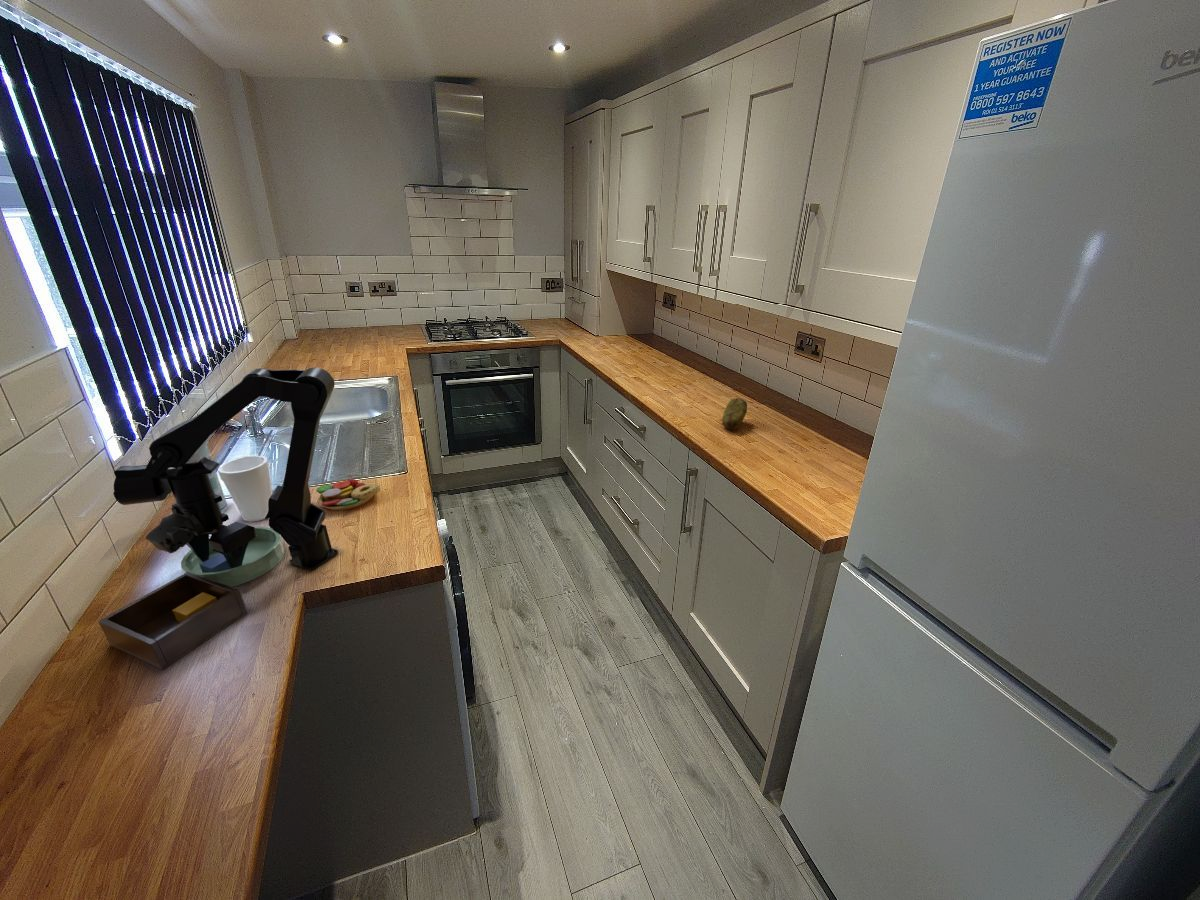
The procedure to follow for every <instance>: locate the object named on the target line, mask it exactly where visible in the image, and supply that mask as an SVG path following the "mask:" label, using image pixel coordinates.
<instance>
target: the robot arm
mask: <svg viewBox="0 0 1200 900" xmlns="http://www.w3.org/2000/svg"><path fill="white" fill-rule="evenodd" d="M334 389H335V379H334V377H333V376H332V374H331V373H330V372H329V371H327V370H326V369H324V368H322V367H321V368H320V367H315V366H313V367H309V368H307V369H305V370H304V369H295V368H294V369H293V368H292V369H267V368H262V367H261V368H255V369H253V370H251V371H250V372H248V373H247V374H246V375H245V376H243V377H242V380H241V381H239V382H238V383H237V384H236V385H235V386H233V387H232V388H231V389H230V390H229V391H227V392H226V393H224V394H223V395H222V396H221V397H220V398H218V399H217V400H216V401H214V402H213V403H212V404H211V405H209V406H208V407H207V408H205V409H204V410H203V411H202V412H201V413H199V414H197V415H195V416H193V417H191V418H189V419H187V420H186V419H185V420H184V421H182V422H181V423H178V424H177V425H175V426H172V427H171V428H169V429H168V430H167V431H165V432H164V433H163V434H161V435H160V436H159V437H157V438H156V439H155V440H153V441H152V442H151V443H150V445H149V447H148V450H149V454H150V456H151V457H150V458H149V461H148V462H147V464H143V465H122V466H119V467H118V468H117V469H115V470H114V471H113V474H114V476H115V478H114V481H113V496H114V498H115V500H116V501H117V503H119V504H120V505H122V506H129V505H136V504H144V503H145V504H146V503H155V502H161V501H165V500H166V499H167V497H168V496H169V495H170V494H171V493H172V495H173V498H174V500H175V503H174V504H171V508H170V509H171V512H172V513H171V514H169V515H167V516H166V517H165V516H164V517H162V518H161V520H160V522H159V524H158V525H157V526H156V527H154V528H153V529H152V530H151V531H150V532H148V533H147V534H146V536H145V539H146V540H147V541H149V543H151V544H152V545H153V546H154V547H155V548H157V549H158V550H159V551H164V552H166V553H168V554H173V553H176V552H178V551H179V550H180V549H181V548H184V547H185V546H187V547H188V548H189V549H190V550H192V551H193V552H194V553H195V554H196V556H197V557H198V558H199V559H200V560H201V561H202V562H205V561H206V560H208V559H209V543H210V545H211V546H212V547H213V550H212V551H214V552H217V553H221V554H223V555H224V557H225V559H226V561H227V562H228V564H229V566H230V568H231V569H232V568H235V567H238V566H241V565H242V563H243V559H244V555H245V552H246V549H247V546H248V544H249V541H251V540H252V539H254V538H255V537H256V536H257V534H256V531H255V528H254V527H255V526H253V525H250V524H246V523H243V522H239V521H234V522H231V523H230V524H228V525H225V524H224V523H225V522H227V521H229V520H230V517H229V515H228V514H227V513H224V512H223V513H222V512H221V510H220V507H219V504H218V502H220V501H222V497H221V495H217V494H215V493H214V490H213V487H212V484H211V481H210V479H209V476H208V474H211V473H212V472H213V471H214V470H216V469H217V468H219V466H220V464H219V462H217V461H215V460H213V459H212V460H209V459H207V458H206V457H203V458H202V459H201V460H200V461H199V462H194V463H187V462H188V461H189V460H190V459H191V458H192V457H194V456H195V455H196V454H197V453H198V452H199V451H200V450H201V449H202V448H203V446H204V445H205V444H206V443H208V442H209V440H210V439H211V438H212V436H213V435H214V434H215V433H216V432H217V430H219V429H220V428H221V427H223V426H224V425H225V424H226V423H229V421H230V420H232V419H233V418H234V417H235V416H237V415H238V414H239V413H241V412H242V411H243V410H244V409H245V408H247V407H248V406H249V405H251V404H252V403H253V402H254V401H255V400H257V399H258V398H260V397H261V398H268V399H272V400H276V401H279V402H283V403H290V408H291V412H292V416H293V426H292V432H291V437H290V443H289V449H288V455H287V461H286V467H285V472H284V477H283V484H282V485H279V484H278V485H277V486H276V487H275V489H274V490H273V491H272V492H273V493H272V495H271V496H270V498H269V500H268V513H267V515H266V517H265V519H264V520H267V519H268V526H269V528H272V529H273V530H274V531H275V532H277V533H278V534H280V537H281V539H283V541H284V542H286V544H287V545H288V551H289V555H290V558H291V559H289V564H291V565H294V566H297V567H301V568H304V569H307V570H311V571H312V570H315V569H316V568H318V567H319V566H321V565H322V564H324V563H326V562H327V561H328V560H330V559H331V558H333V557H335V556H336V555H337V554H338V553H339V550H338V549H335V548H333V547H332V543H331V540H330V536H329V531H328V528H327V525H325V524H323V522H324V521H325V517H326V510H324V509H323V508H321V507H319V506H317V505H315V504H314V503H312V500H311V499H312V498H311V497H312V496H311V494H312V493H311V490H310V487H309V480H310V476H311V471H312V465H313V459H314V454H315V449H316V443H317V438H318V432H319V428H320V423H321V418H322V416H323V414H324V412H325V409H326V407H327V405H328V403H329V400H330V398H331V396H332V393H333V391H334ZM209 538H210V539H209Z"/></svg>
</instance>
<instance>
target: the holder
mask: <svg viewBox="0 0 1200 900" xmlns="http://www.w3.org/2000/svg"><path fill="white" fill-rule="evenodd" d="M202 592H204V593H206V594H209V595H212V596H215V597H216V598H217V601H215V602H214V603H212V604H210V605H209V606H207V607H206V608H204V609H202V610H201V611H199V612H198V613H196V614H194V615H193V616H191V617H189V618H188V619H186V620H185V621H183V622H178V621H177V619H176V617H175V615H174V612H173V609H175V608H177V607H178V606H180V605H182V604H184V603H185V602H187V601H189V600H190V599H192V598H194V597H195V596H197V595H199V594H200V593H202ZM246 615H248V610H247V608H246V605H245V602H244V600H243V596H242V594H241V591H240V589H238V588H236V587H234V586H233V587H230V586H227V585H224V584H222V583H219V582H216V581H213V580H210V579H207V578H204V577H202V576H199V575H196V574H193V573H190V572H187V573H185V574H184V573H182V574H181V575H179V576H178V577H175V578H173V579H172V580H170V581H168V582H167V583H165V584H163V585H161V586H159V587H158V588H155V589H154V590H151V591H150V592H148V593H147V594H145V595H143V596H141V597H139V598H137V599H136V600H134V601H131V602H130V603H128V604H127V605H125V606H122V607H121V608H119V609H117V610H115V611H113V612H112V613H110V614H108V615H106V616H105V617H103V618H101V619H99V620H98V621H97V622H98V624H99V626H100V628H101V631H102V632H103V634H104V636H105V638H106V640H107V641H108V644H109V646H110V647H112V648H114V649H117V650H119V651H121V652H123V653H126V654H127V655H130V656H132V657H134V658H136V659H139V660H141V661H143V662H145V663H147V664H149V665H151V666H153V667H155V668H158V669H160V670H161V671H163V670H165V669H167V668H169V667H170V666H171V665H173V664H174V663H176V662H177V661H179V660H180V659H182V658H183V657H185V656H186V655H188V654H189V653H191V652H192V651H194V650H195V649H197V648H198V647H200V646H201V645H203V644H204V643H205V642H207V641H208V640H210V639H212V638H213V637H215V636H216V635H217V634H219V633H221V632H222V631H223V630H225V629H226V628H227V627H229V626H231V625H232V624H233V623H235V622H237V621H238V620H239V619H241V618H242V617H244V616H246Z"/></svg>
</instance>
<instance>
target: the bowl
mask: <svg viewBox="0 0 1200 900" xmlns="http://www.w3.org/2000/svg"><path fill="white" fill-rule="evenodd" d="M253 527H254V528H255V531H256V534H257V536H256V537H255V538H254V539H252V540H251V541H249V544H248V546H247V549H246V552H245V555H244V559H243V563H242V565H241V566H238V567H235V568H232V569H228V570H224V571H219V572H209V573H203V572H202V570H201V567H200V565H199V564H201V563H203V562H202V561H201V560H200V559H199V558H198V557H197V556H196V554H195V553H194V552H193V551H192V550H191V549H190V550H189V551H187V553H186V554H184V556H183V558H182V559H181V561H180V568H181V570H182V574H185V573H187V572H190V573H193V574H196V575H199V576H202V577H204V578H207V579H210V580H213V581H216V582H219V583H222V584H224V585H227V586H230V587H233V588H234V587H237V586H240V585H242V584H246V583H248V582H249V583H250V582H251V581H253V580H256V579H258V578H260V577H261V576H263V575H265V574H266V573H268V572H269V571H271V570H272V569H274V568H275V567H276V566H277V565H278V564H279V563H280V562H281V561H282V559H283V558H284V555H285V548H284V543H283V540H282V537H281V535H280V534H278V533H277V532H275V531H274V530H273V529H272V528H270V526H269V527H268V526H253ZM209 539H210V537H209ZM212 550H213V547H212V546H211V545H210V543H209V559H210V558H212V557H214V556H216V555H217V554H219V553H217V552H214V551H212Z"/></svg>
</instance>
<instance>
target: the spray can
mask: <svg viewBox="0 0 1200 900" xmlns="http://www.w3.org/2000/svg"><path fill="white" fill-rule="evenodd" d="M207 443H208V442H207ZM207 443H206V444H205V445H204V446H203V448H202V449H201V450H200V451H199V452H198V453H197V454H196V455H195V456H194V457H192V458H191V459H190V460H189V461H188V462H187V463H194V462H199V461H200V460H201V459H202V458H203V457H206V458H207V459H209V460H212V461H213V458H212V455H211V452H210V449H209V446H208V444H207ZM208 476H209V479H210V481H211V484H212V487H213V490H214V493H215V494H217V495H221V497H222V501H220V502H218V504H219V507H220V510H221V512H222V513H223V514H224V513H225V512H226V511H227V510H228V503H227V500H226V496H225V493H224V491H223V488H222V484H221V482H220V479H219V476H218V473H217V471H216V469H215V470H214V471H213V472H212V473H211V474H208Z"/></svg>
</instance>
